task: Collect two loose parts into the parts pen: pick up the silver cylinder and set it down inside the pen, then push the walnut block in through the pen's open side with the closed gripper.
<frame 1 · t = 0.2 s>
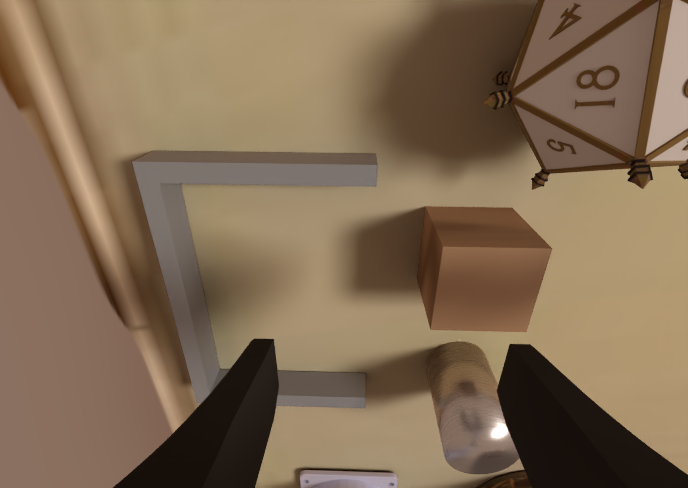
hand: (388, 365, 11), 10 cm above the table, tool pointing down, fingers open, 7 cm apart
parts pen: (276, 286, 22), on the table
silver cylinder: (455, 364, 24), on the table
game die: (561, 63, 16), on the table
walnut block: (461, 244, 20), on the table
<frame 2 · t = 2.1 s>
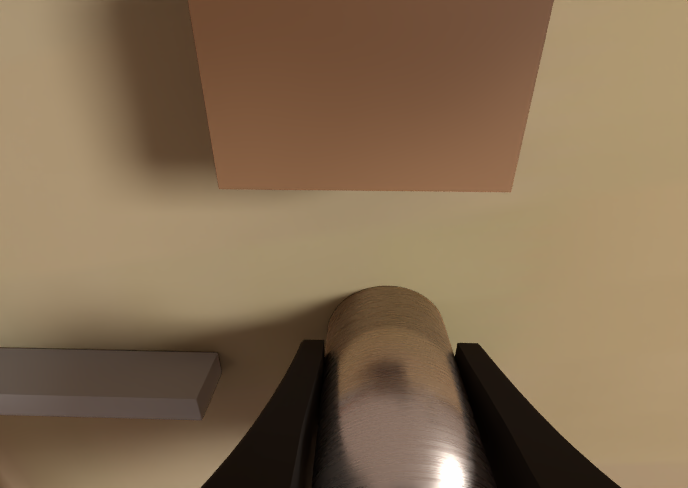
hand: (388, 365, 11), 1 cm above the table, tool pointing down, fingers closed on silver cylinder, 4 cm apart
silver cylinder: (385, 334, 13), on the table, touching gripper
walnut block: (362, 34, 9), on the table
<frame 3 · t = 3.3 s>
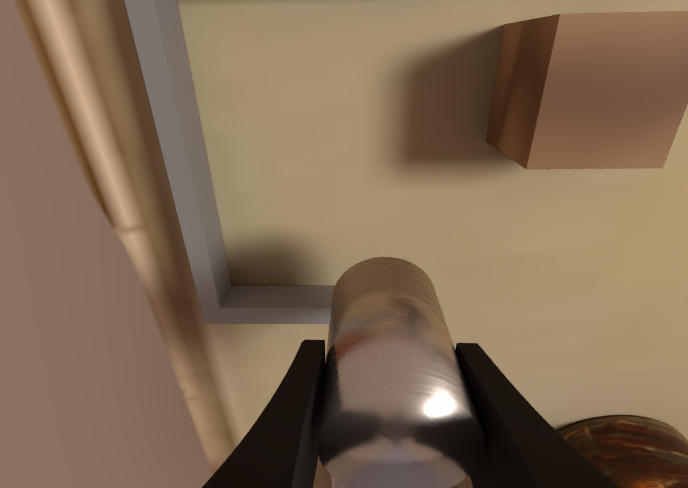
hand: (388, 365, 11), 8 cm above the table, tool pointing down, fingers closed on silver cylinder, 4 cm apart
parts pen: (303, 160, 17), on the table
jar: (600, 464, 27), on the table
silver cylinder: (383, 301, 14), point 5 cm above the table, touching gripper
walnut block: (548, 85, 15), on the table
when the fingers open (3 cm above the table, at t = 5.0 s): silver cylinder stays where it is, on the table.
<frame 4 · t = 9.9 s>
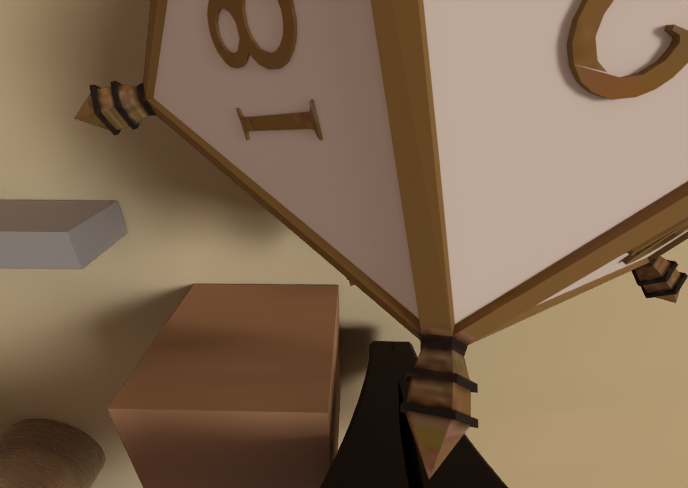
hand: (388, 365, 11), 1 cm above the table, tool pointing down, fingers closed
parts pen: (36, 395, 14), on the table
silver cylinder: (56, 450, 16), on the table
game die: (419, 34, 8), on the table
walnut block: (273, 340, 12), on the table, touching gripper
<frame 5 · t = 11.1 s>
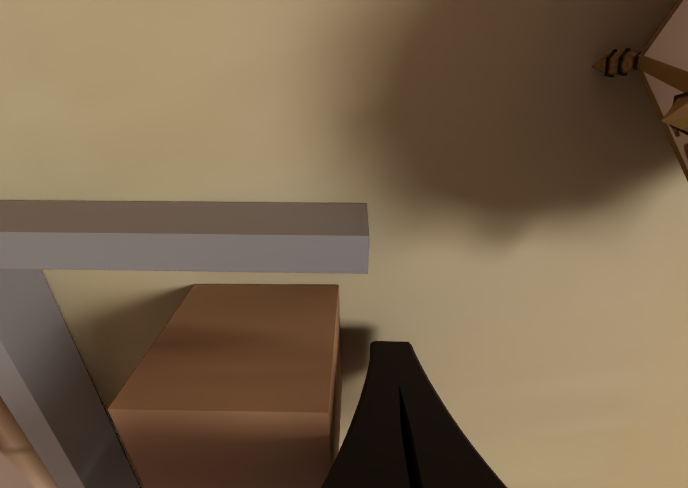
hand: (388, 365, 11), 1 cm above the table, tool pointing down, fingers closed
parts pen: (215, 400, 14), on the table
walnut block: (273, 340, 12), on the table, touching gripper
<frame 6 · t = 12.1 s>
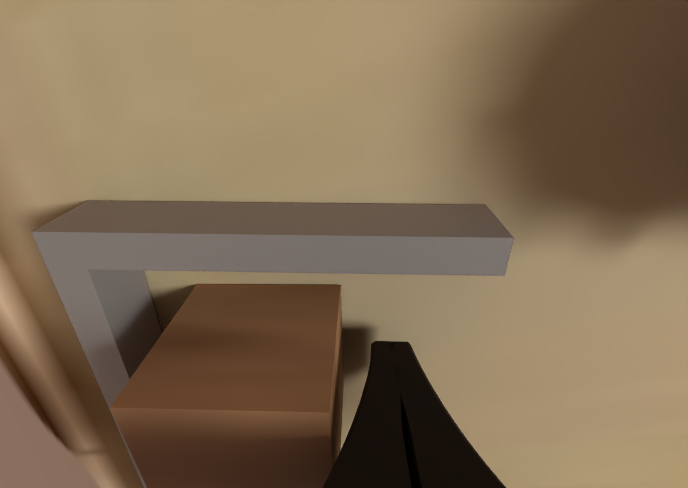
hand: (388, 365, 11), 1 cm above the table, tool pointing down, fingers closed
parts pen: (300, 402, 14), on the table
walnut block: (275, 339, 12), on the table, touching gripper
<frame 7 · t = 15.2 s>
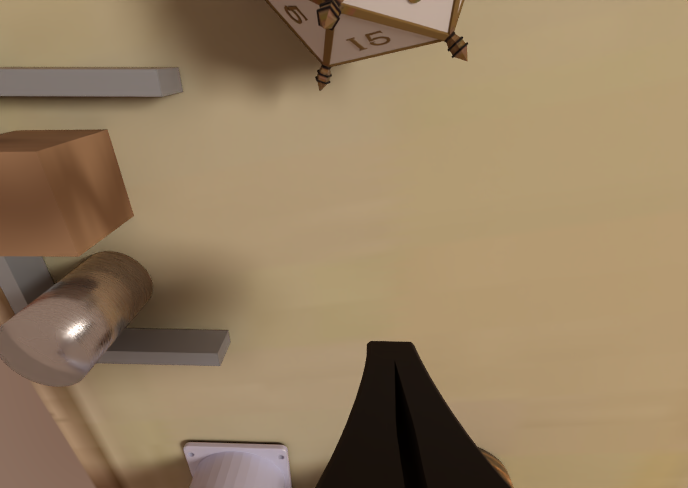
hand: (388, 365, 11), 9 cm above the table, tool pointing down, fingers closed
parts pen: (109, 229, 20), on the table
jar: (436, 481, 30), on the table
silver cylinder: (118, 280, 22), on the table
walnut block: (79, 174, 19), on the table
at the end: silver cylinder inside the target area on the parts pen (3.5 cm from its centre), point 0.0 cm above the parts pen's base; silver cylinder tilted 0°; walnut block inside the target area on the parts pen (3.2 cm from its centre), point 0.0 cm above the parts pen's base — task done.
